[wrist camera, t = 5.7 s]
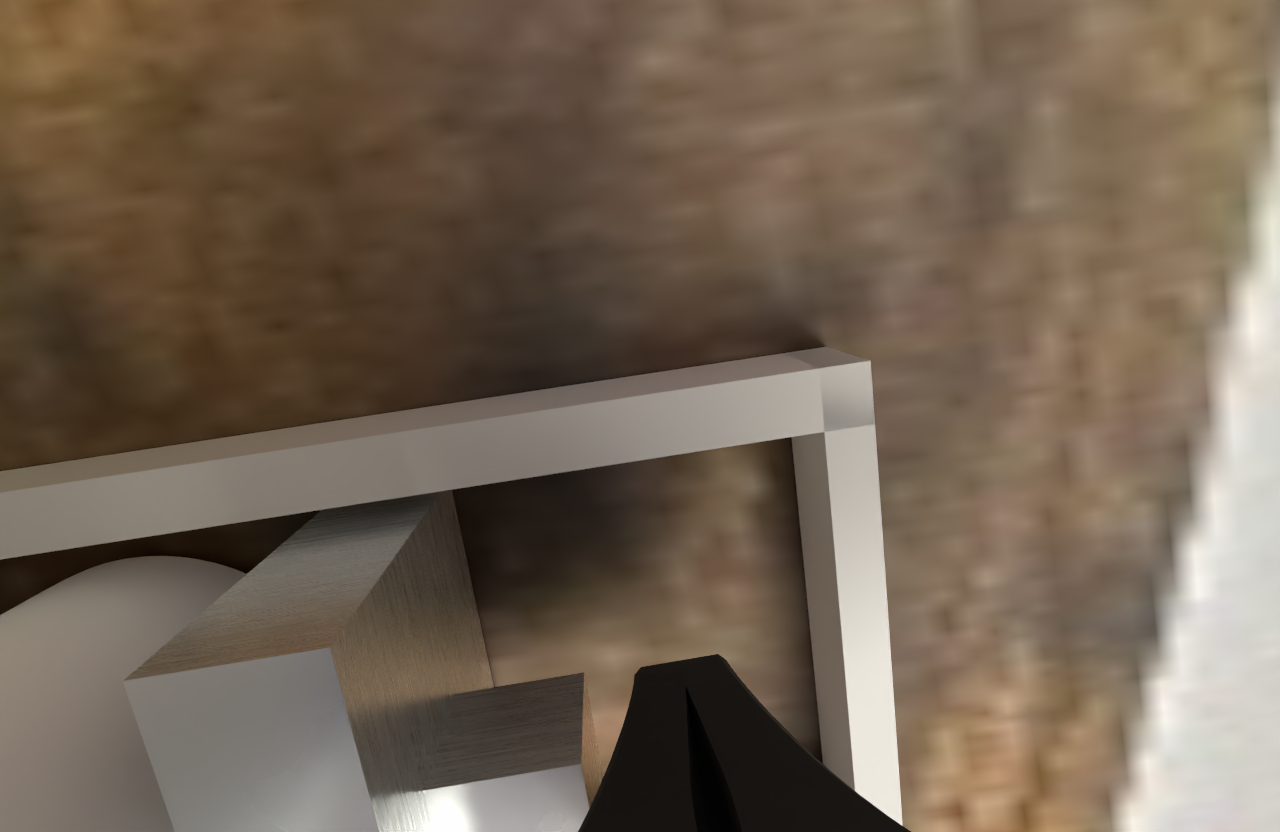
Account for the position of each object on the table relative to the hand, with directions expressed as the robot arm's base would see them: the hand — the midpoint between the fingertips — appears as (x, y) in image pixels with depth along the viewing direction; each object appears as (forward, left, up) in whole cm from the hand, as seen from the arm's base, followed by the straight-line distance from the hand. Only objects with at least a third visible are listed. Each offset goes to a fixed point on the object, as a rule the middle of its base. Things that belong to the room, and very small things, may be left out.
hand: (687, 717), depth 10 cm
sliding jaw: (0, +4, -2) cm, 5 cm away
